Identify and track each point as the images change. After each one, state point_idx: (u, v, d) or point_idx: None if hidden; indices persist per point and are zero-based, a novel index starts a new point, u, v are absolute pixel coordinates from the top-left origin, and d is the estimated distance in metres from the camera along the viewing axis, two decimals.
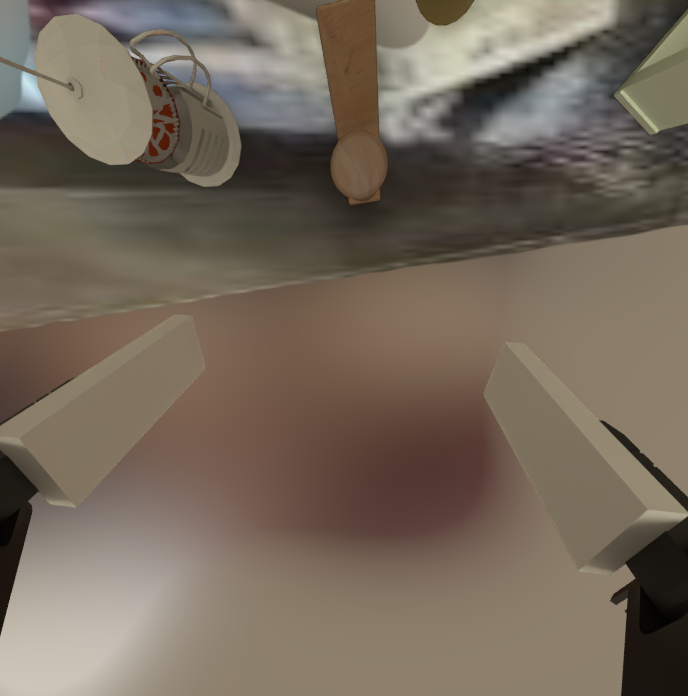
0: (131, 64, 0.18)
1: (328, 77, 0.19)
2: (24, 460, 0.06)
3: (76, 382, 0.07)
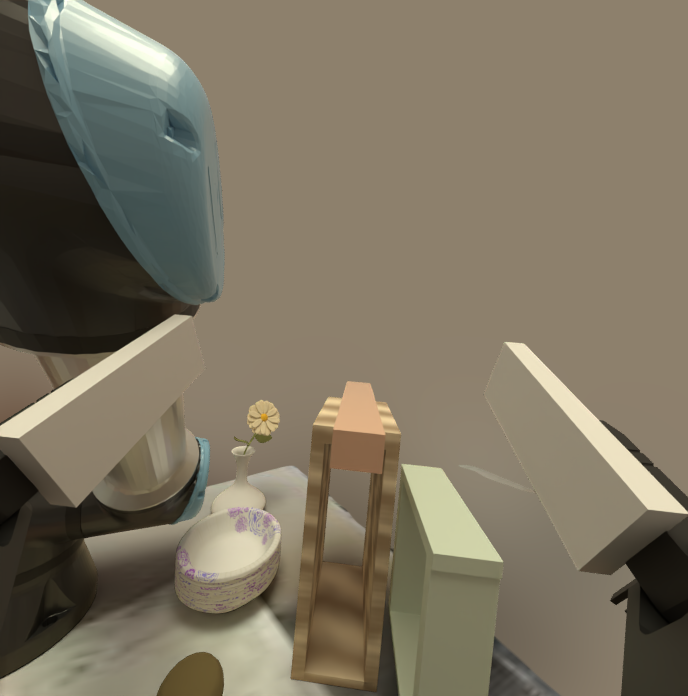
0: None
1: None
2: (24, 460, 0.06)
3: (76, 382, 0.07)
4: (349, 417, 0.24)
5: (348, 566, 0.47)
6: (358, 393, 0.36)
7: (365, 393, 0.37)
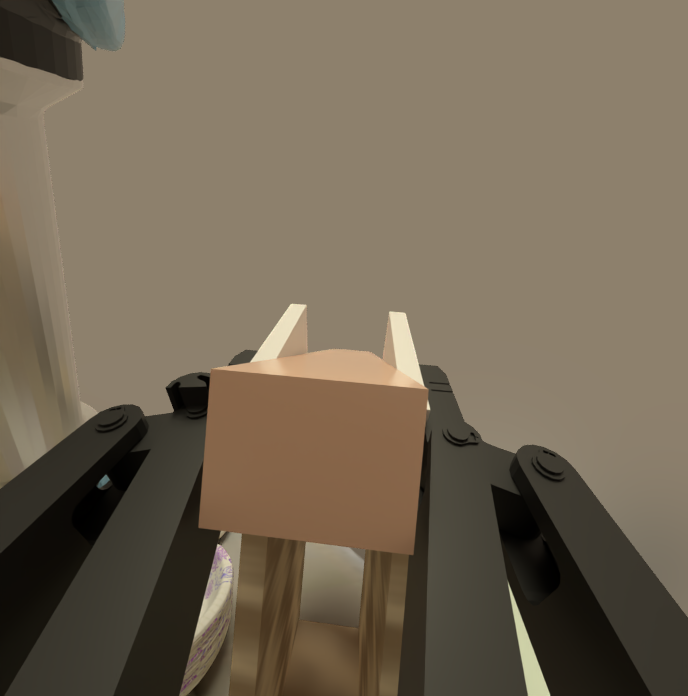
0: None
1: None
2: None
3: (261, 355, 0.09)
4: (309, 361, 0.09)
5: (337, 628, 0.31)
6: None
7: (360, 353, 0.21)
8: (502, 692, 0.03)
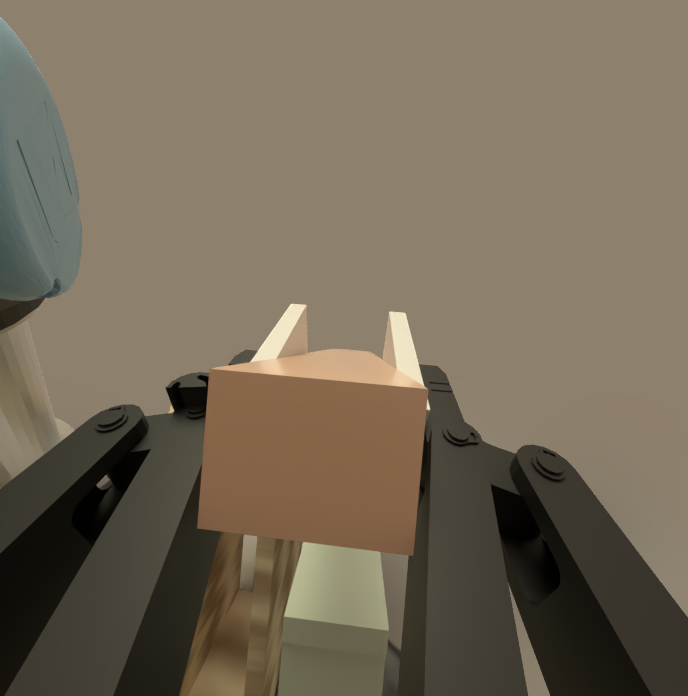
0: None
1: None
2: None
3: (261, 354, 0.09)
4: (308, 361, 0.09)
5: None
6: (348, 352, 0.21)
7: (360, 353, 0.21)
8: (502, 693, 0.03)
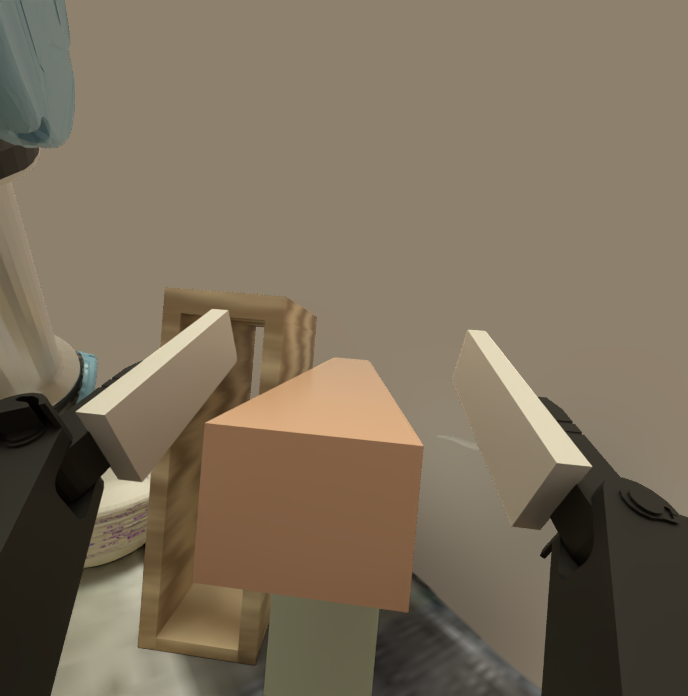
0: None
1: None
2: (104, 436, 0.07)
3: (140, 368, 0.08)
4: (306, 392, 0.09)
5: None
6: (347, 365, 0.21)
7: (359, 366, 0.21)
8: None
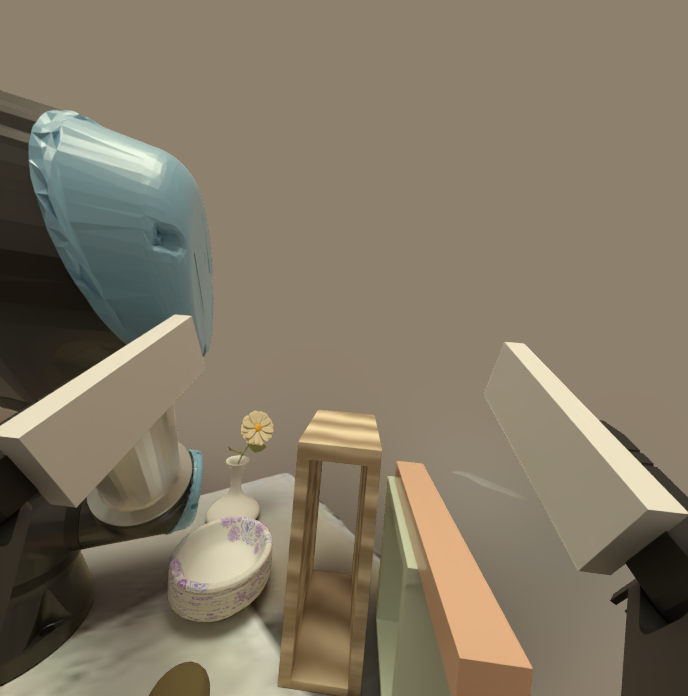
0: None
1: None
2: (24, 460, 0.06)
3: (76, 382, 0.07)
4: (456, 598, 0.19)
5: (338, 575, 0.48)
6: (425, 501, 0.31)
7: (433, 499, 0.31)
8: None
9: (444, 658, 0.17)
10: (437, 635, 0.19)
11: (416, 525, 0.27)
